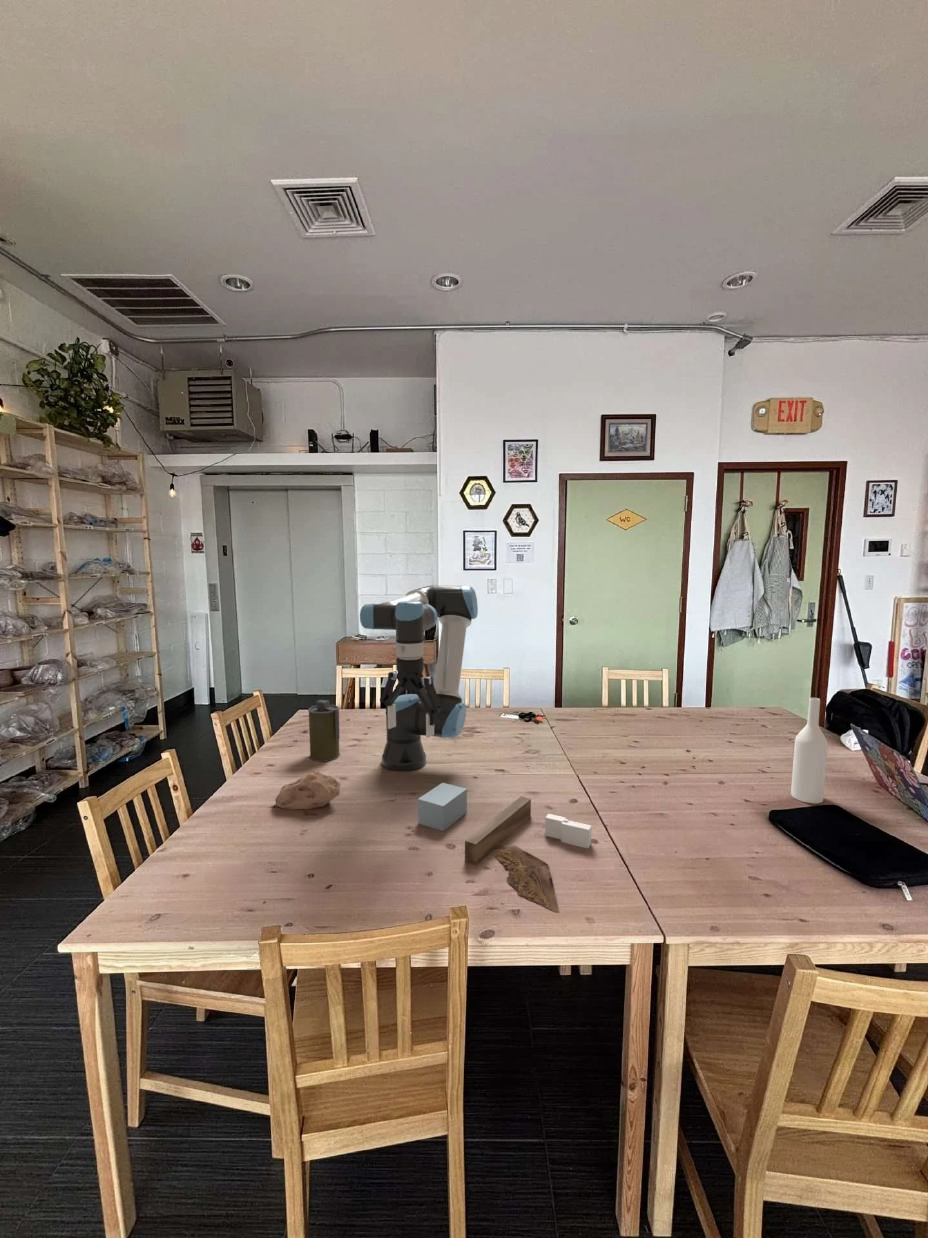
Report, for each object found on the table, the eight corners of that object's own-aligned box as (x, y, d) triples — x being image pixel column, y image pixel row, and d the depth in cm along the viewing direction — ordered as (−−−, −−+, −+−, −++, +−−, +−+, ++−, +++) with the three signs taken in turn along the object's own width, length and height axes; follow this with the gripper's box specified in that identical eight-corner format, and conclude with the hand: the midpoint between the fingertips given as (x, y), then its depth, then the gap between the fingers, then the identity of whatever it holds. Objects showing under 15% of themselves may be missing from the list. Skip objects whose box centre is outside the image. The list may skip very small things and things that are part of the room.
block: (418, 824, 144) (417, 799, 144) (442, 806, 155) (442, 782, 154) (443, 831, 140) (443, 806, 139) (466, 812, 151) (466, 788, 150)
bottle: (795, 789, 166) (802, 693, 162) (826, 797, 160) (834, 698, 156) (787, 797, 160) (795, 698, 156) (819, 806, 154) (827, 704, 151)
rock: (342, 796, 161) (341, 763, 159) (339, 811, 151) (338, 777, 150) (278, 799, 158) (276, 767, 157) (271, 815, 148) (269, 781, 147)
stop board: (464, 860, 127) (464, 840, 126) (520, 813, 150) (521, 796, 149) (475, 864, 125) (475, 844, 125) (530, 816, 148) (530, 799, 148)
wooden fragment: (490, 849, 132) (490, 845, 132) (532, 844, 135) (532, 840, 134) (525, 919, 107) (525, 914, 107) (577, 911, 110) (577, 906, 109)
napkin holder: (604, 849, 133) (604, 827, 132) (565, 860, 128) (566, 838, 127) (567, 822, 146) (568, 802, 145) (531, 831, 141) (532, 810, 141)
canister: (303, 759, 189) (301, 703, 187) (321, 749, 199) (320, 696, 196) (329, 763, 185) (327, 706, 183) (346, 753, 195) (345, 699, 192)
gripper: (366, 654, 153) (368, 727, 155) (439, 664, 139) (439, 744, 142) (384, 650, 159) (385, 720, 161) (455, 659, 146) (455, 736, 148)
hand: (410, 731), depth 152 cm, fingers open, 13 cm apart
